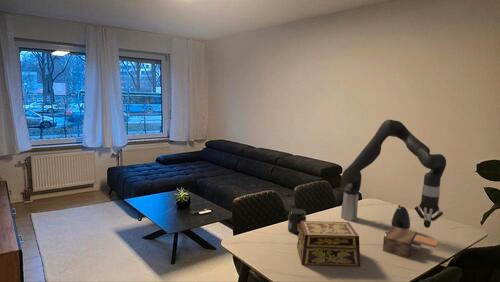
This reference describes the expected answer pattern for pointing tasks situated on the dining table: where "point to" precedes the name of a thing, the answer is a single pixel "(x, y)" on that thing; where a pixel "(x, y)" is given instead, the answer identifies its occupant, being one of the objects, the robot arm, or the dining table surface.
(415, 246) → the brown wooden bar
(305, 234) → the decorative box
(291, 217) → the supplement container
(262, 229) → the dining table surface
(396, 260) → the dining table surface
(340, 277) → the dining table surface
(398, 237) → the walnut block
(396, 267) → the dining table surface
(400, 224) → the dark egg shape
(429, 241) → the keeper flap
